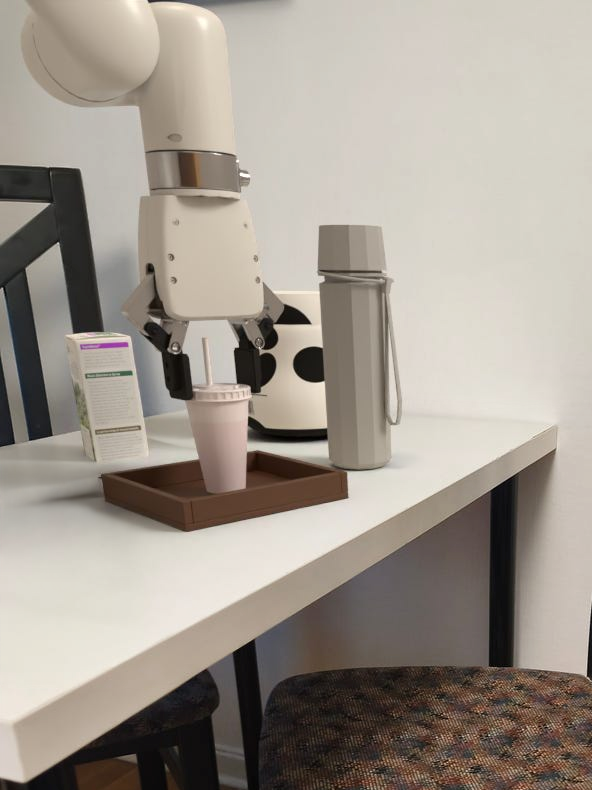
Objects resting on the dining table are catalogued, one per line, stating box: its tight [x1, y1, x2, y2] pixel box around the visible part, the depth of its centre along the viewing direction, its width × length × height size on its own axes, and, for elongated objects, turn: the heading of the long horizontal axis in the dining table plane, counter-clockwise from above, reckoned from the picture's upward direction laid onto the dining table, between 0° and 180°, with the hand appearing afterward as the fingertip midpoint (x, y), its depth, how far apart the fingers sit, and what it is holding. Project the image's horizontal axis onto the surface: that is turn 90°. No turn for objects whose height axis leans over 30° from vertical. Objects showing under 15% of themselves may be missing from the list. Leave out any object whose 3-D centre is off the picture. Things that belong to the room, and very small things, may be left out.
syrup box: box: [64, 331, 150, 479], centre depth 95 cm, size 6×6×14 cm
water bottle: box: [316, 224, 403, 471], centre depth 97 cm, size 9×8×25 cm
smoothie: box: [184, 337, 252, 494], centre depth 84 cm, size 6×6×14 cm
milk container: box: [248, 290, 328, 438], centre depth 119 cm, size 17×17×18 cm
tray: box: [100, 449, 349, 532], centre depth 87 cm, size 18×16×3 cm
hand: (216, 393), depth 83 cm, fingers closed on smoothie, 6 cm apart
